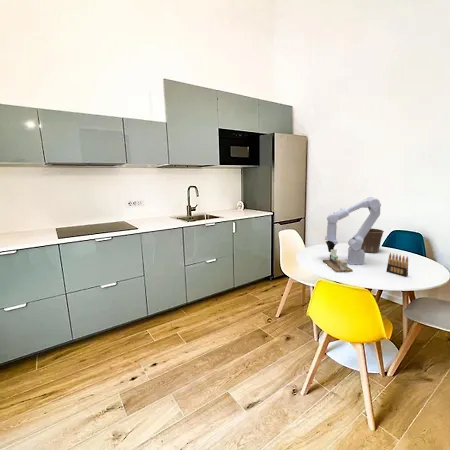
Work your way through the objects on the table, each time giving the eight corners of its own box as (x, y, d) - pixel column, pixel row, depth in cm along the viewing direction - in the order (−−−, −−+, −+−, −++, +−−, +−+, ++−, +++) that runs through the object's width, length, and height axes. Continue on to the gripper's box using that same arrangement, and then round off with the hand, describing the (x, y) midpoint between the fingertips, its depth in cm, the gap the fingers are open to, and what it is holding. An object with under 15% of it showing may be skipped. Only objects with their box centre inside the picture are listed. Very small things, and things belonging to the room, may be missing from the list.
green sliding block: (335, 258, 172) (336, 249, 171) (338, 260, 168) (339, 251, 167) (330, 258, 172) (330, 249, 170) (332, 260, 168) (333, 251, 167)
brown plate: (337, 261, 176) (337, 252, 175) (352, 271, 157) (353, 262, 156) (322, 261, 176) (323, 253, 175) (336, 272, 156) (336, 262, 155)
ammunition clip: (386, 271, 155) (388, 252, 153) (387, 271, 156) (389, 251, 154) (406, 277, 147) (408, 256, 144) (407, 276, 148) (410, 256, 145)
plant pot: (362, 246, 208) (363, 227, 205) (384, 250, 196) (386, 229, 193) (354, 251, 198) (355, 230, 194) (377, 255, 186) (379, 233, 183)
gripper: (321, 230, 180) (320, 249, 182) (330, 234, 165) (329, 255, 168) (331, 229, 180) (330, 248, 182) (341, 234, 165) (340, 254, 168)
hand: (330, 251), depth 175 cm, fingers closed
